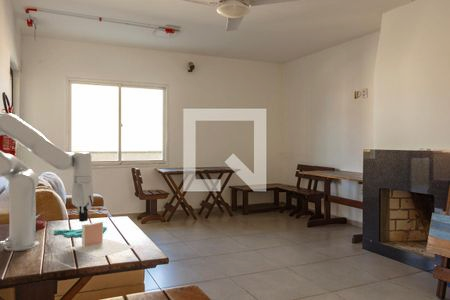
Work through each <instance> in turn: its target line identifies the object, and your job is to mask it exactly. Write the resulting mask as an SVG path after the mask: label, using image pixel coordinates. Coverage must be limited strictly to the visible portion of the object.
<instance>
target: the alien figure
mask: <svg viewBox="0 0 450 300" xmlns="http://www.w3.org/2000/svg"><path fill="white" fill-rule="evenodd" d="M107 229H108V227H106V226H103V234H105V232H106V231H107ZM53 234H54V235H56V236H57V235H63V238H73V237H74V238H79V237H80V238H82V228H79V229H62V230H61V229H54V230H53Z"/></svg>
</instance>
